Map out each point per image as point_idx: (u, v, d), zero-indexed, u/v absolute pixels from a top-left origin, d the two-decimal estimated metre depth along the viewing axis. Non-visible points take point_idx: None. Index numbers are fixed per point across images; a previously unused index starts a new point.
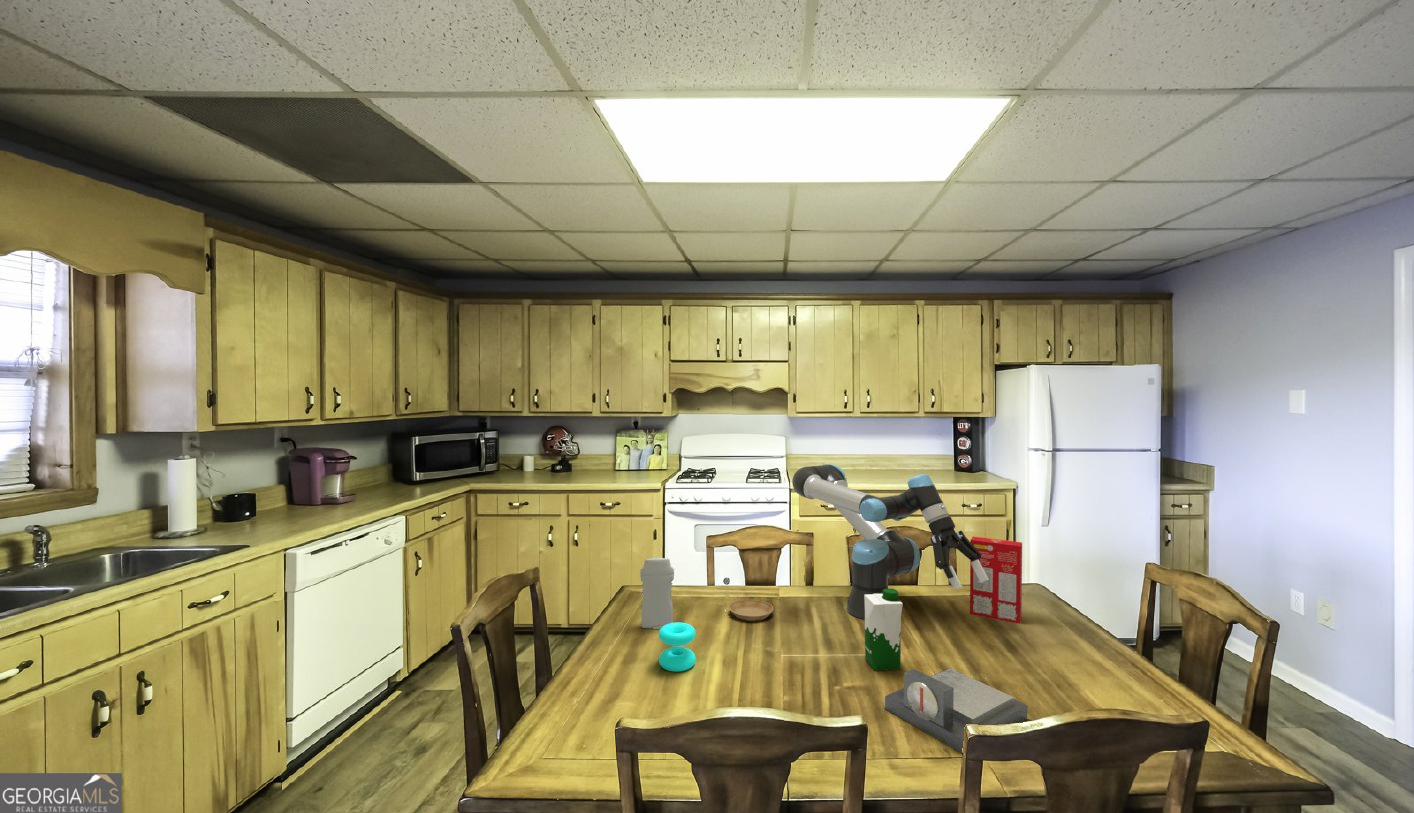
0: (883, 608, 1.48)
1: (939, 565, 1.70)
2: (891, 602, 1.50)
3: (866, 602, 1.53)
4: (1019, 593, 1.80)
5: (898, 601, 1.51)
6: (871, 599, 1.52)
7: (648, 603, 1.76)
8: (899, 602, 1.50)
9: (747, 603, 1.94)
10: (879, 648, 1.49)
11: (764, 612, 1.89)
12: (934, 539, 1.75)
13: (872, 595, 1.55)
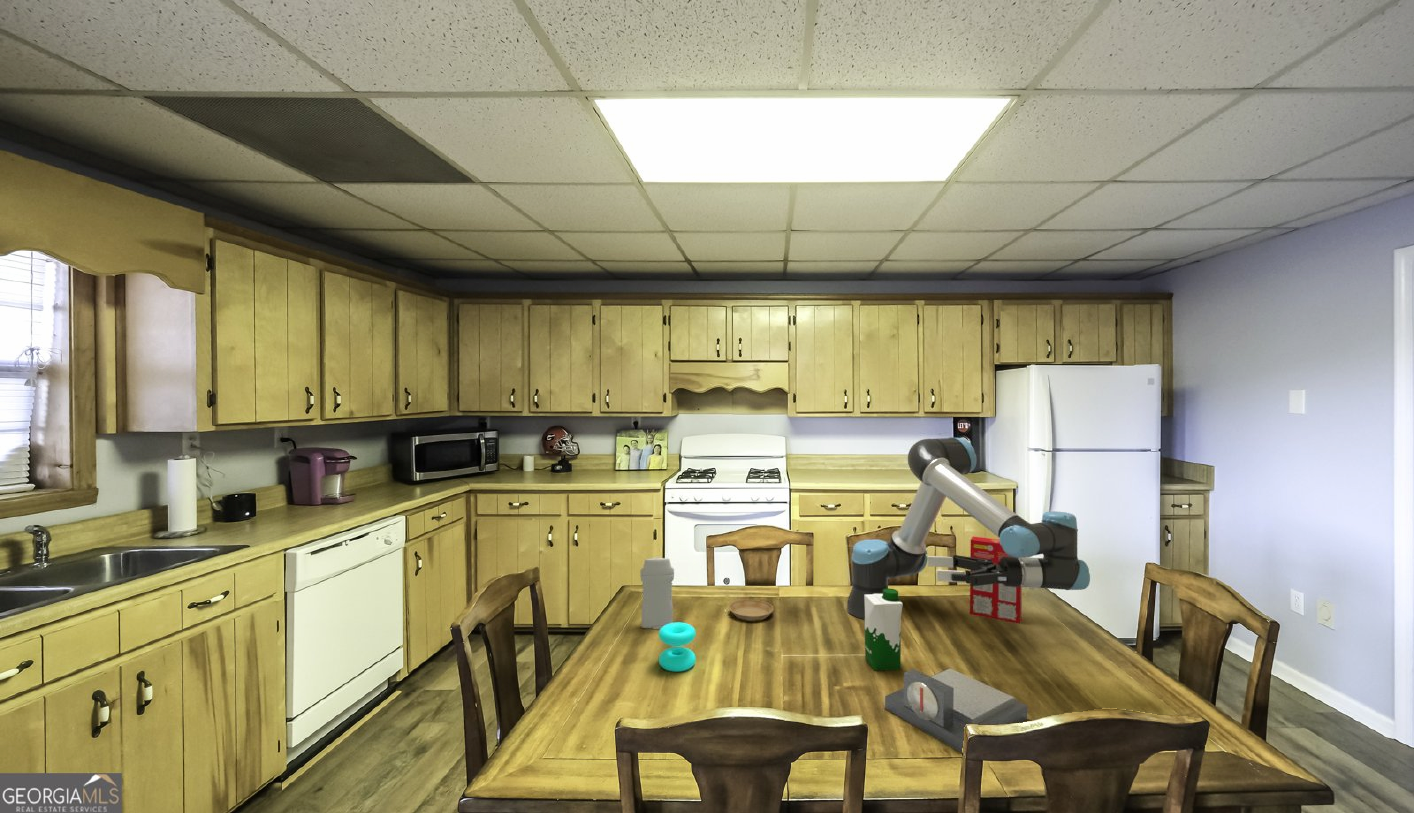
0: (883, 608, 1.48)
1: (971, 580, 1.39)
2: (891, 602, 1.50)
3: (866, 602, 1.53)
4: (1019, 593, 1.80)
5: (898, 601, 1.51)
6: (871, 599, 1.52)
7: (648, 603, 1.76)
8: (899, 602, 1.50)
9: (747, 603, 1.94)
10: (879, 648, 1.49)
11: (764, 612, 1.89)
12: (1002, 579, 1.41)
13: (872, 595, 1.55)
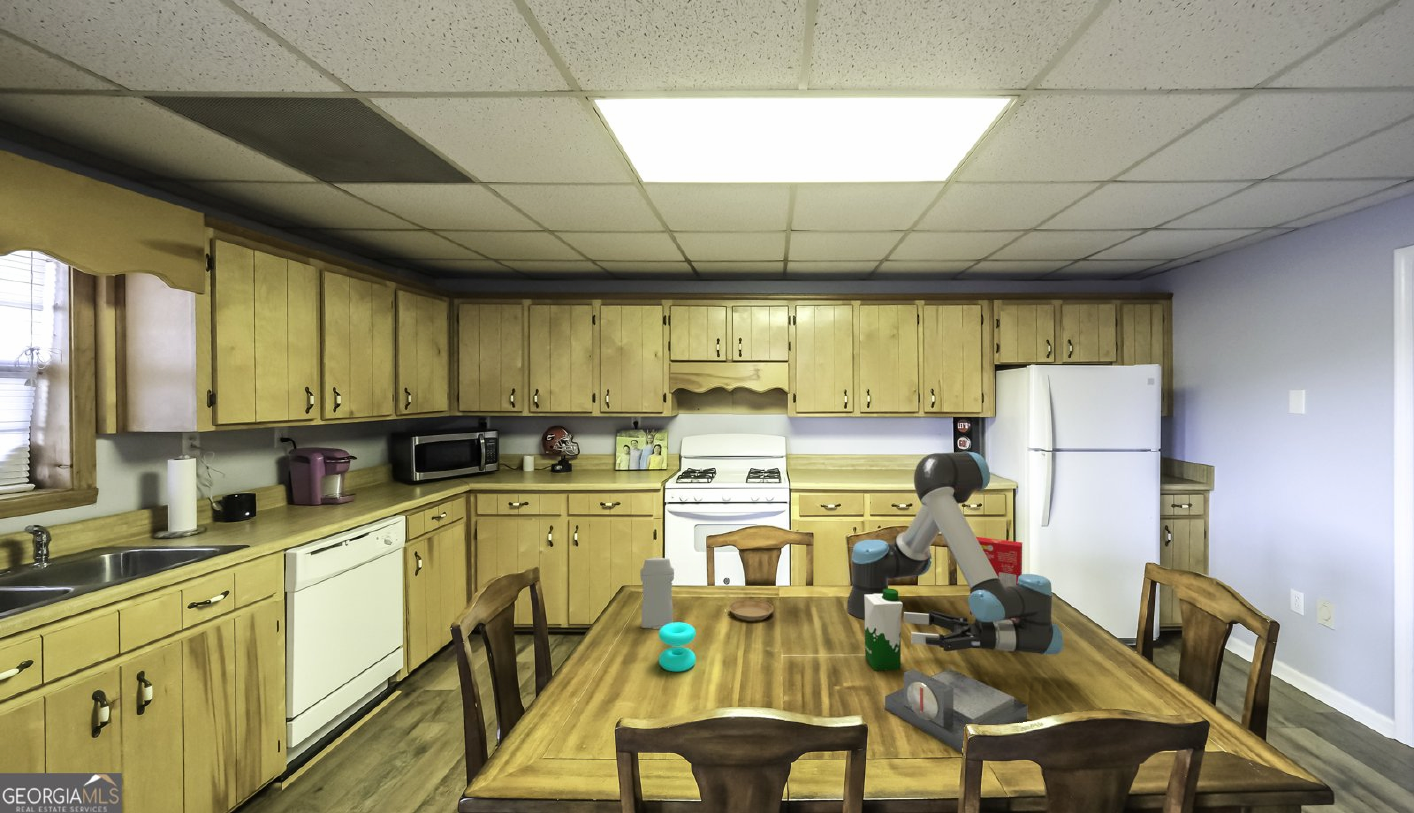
0: (883, 608, 1.48)
1: (945, 646, 1.39)
2: (891, 602, 1.50)
3: (866, 602, 1.53)
4: None
5: (898, 601, 1.51)
6: (871, 599, 1.52)
7: (648, 603, 1.76)
8: (899, 602, 1.50)
9: (747, 603, 1.94)
10: (879, 648, 1.49)
11: (764, 612, 1.89)
12: (976, 644, 1.41)
13: (872, 595, 1.55)
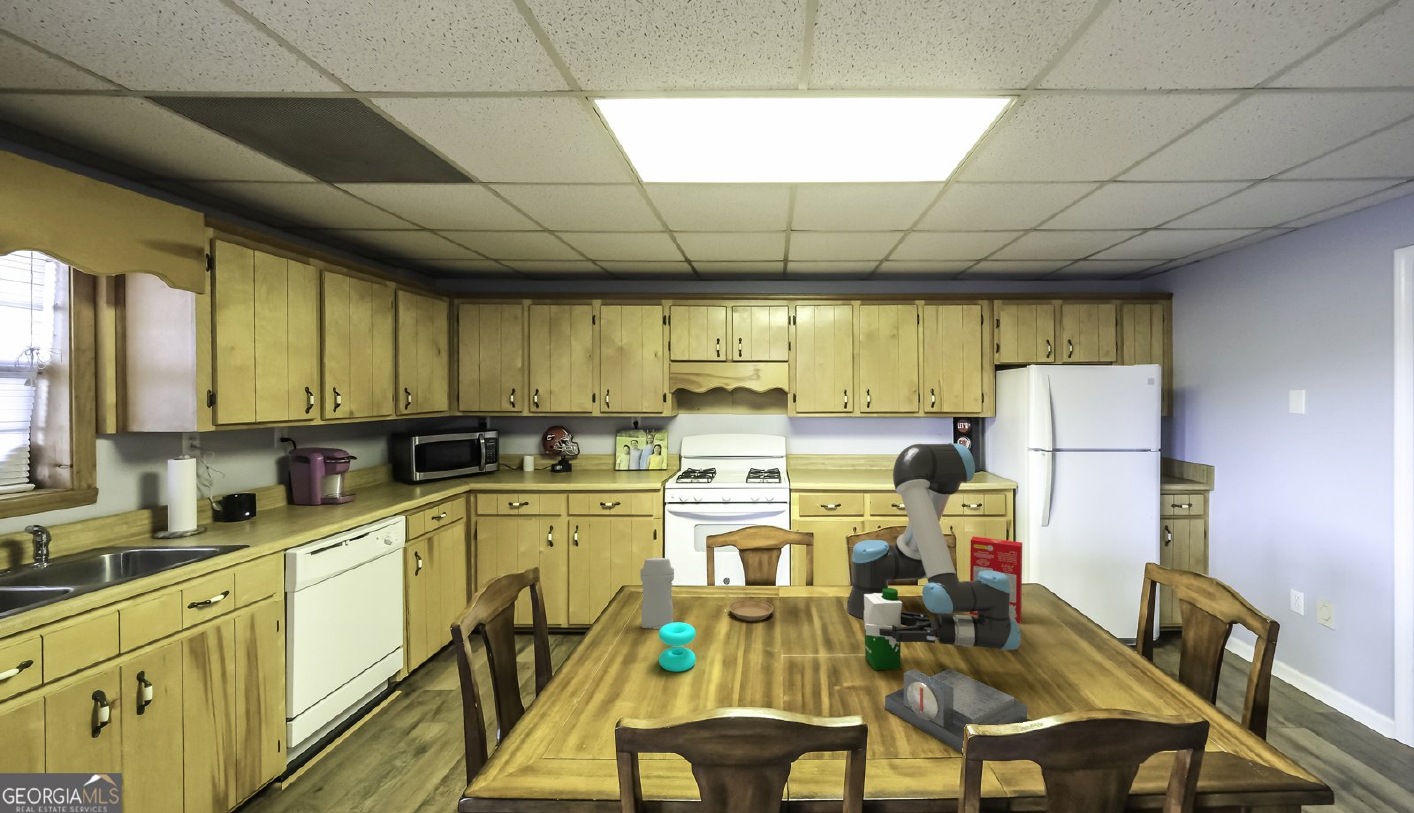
0: (883, 607, 1.49)
1: (897, 637, 1.44)
2: (891, 601, 1.50)
3: (866, 601, 1.54)
4: (1019, 593, 1.80)
5: (898, 600, 1.51)
6: (871, 598, 1.52)
7: (648, 603, 1.76)
8: (899, 601, 1.50)
9: (746, 603, 1.94)
10: (879, 648, 1.49)
11: (764, 612, 1.89)
12: (930, 639, 1.44)
13: (872, 595, 1.55)
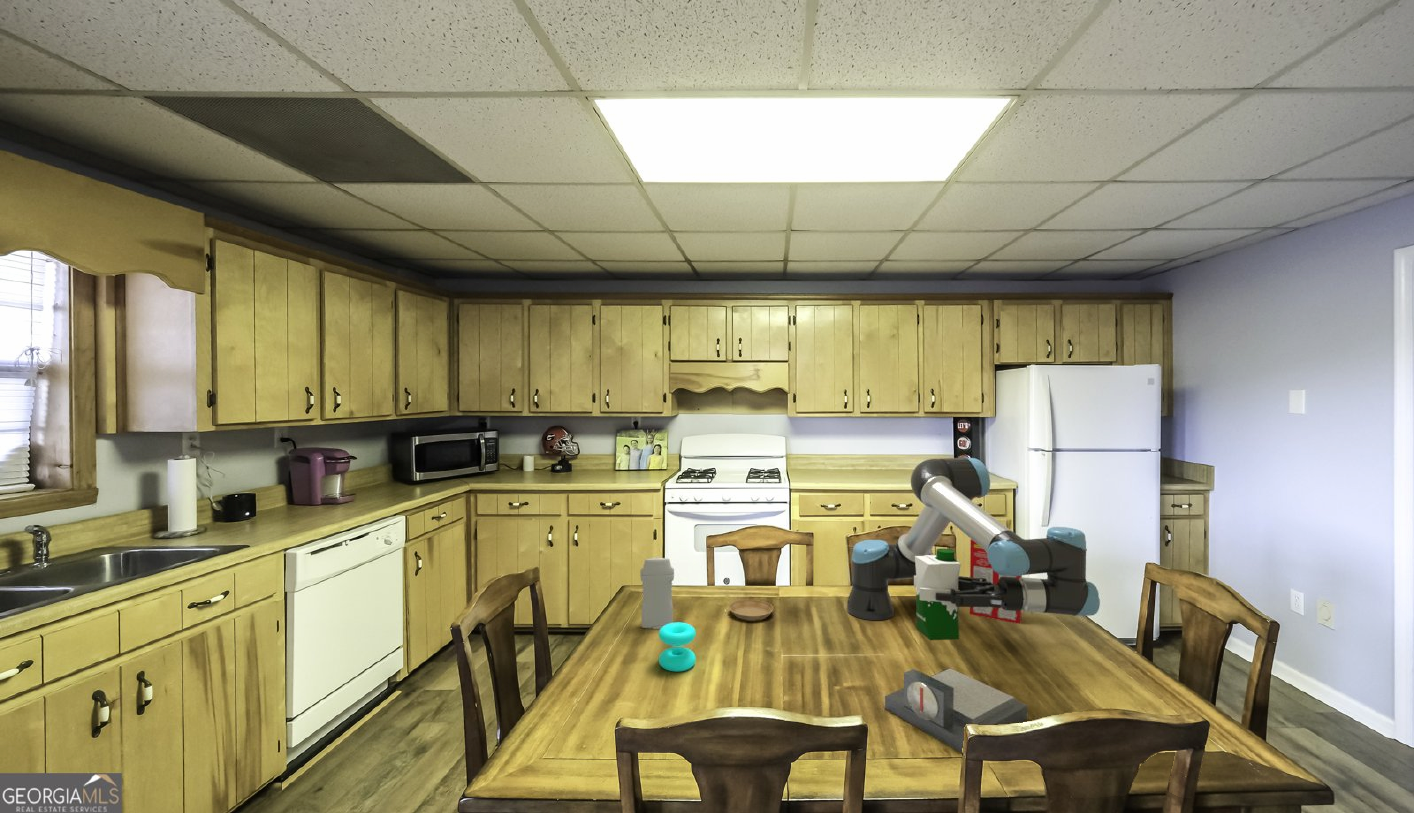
0: (939, 568, 1.31)
1: (957, 601, 1.26)
2: (947, 562, 1.32)
3: (918, 564, 1.36)
4: None
5: (955, 561, 1.33)
6: (924, 560, 1.34)
7: (648, 603, 1.76)
8: (956, 562, 1.32)
9: (746, 603, 1.94)
10: (935, 615, 1.31)
11: (764, 612, 1.89)
12: (996, 603, 1.26)
13: (924, 556, 1.37)
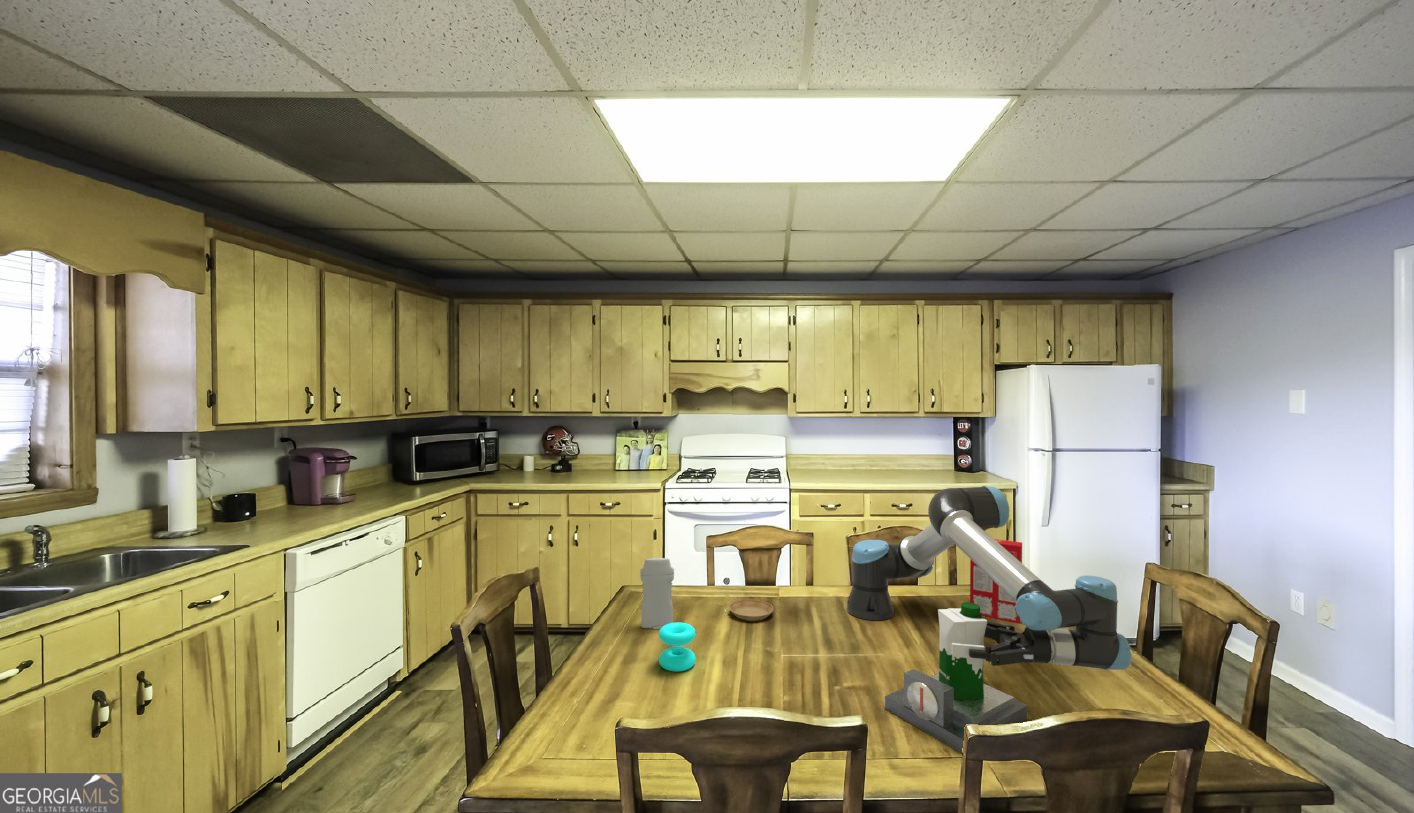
0: (965, 626, 1.26)
1: (993, 659, 1.19)
2: (973, 619, 1.27)
3: (941, 619, 1.31)
4: None
5: (981, 617, 1.28)
6: (948, 615, 1.29)
7: (648, 603, 1.76)
8: (983, 619, 1.27)
9: (746, 603, 1.94)
10: (959, 674, 1.26)
11: (764, 612, 1.89)
12: (1028, 657, 1.20)
13: (948, 610, 1.32)
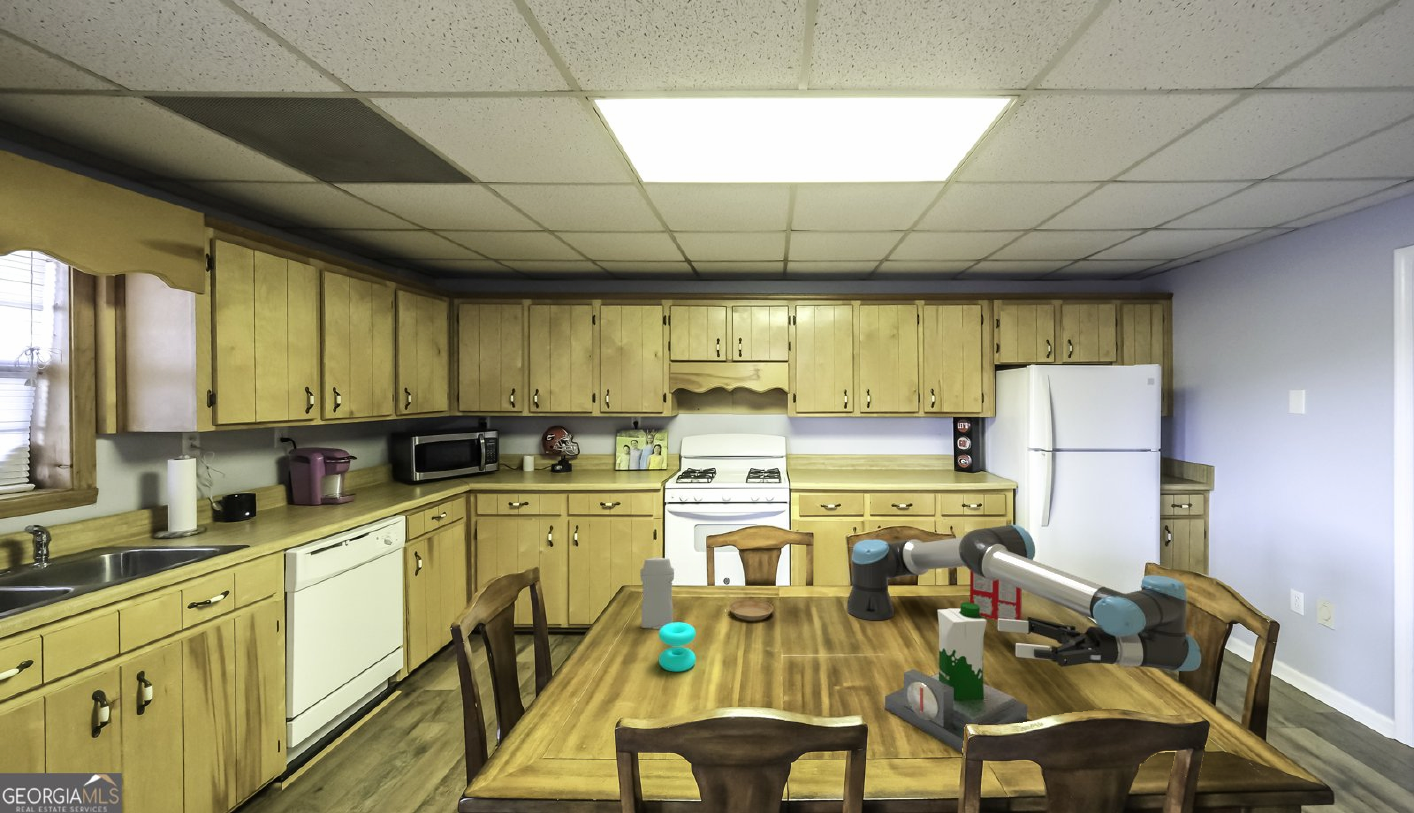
0: (964, 626, 1.26)
1: (1060, 660, 1.17)
2: (973, 619, 1.27)
3: (941, 619, 1.31)
4: (1019, 593, 1.80)
5: (981, 617, 1.28)
6: (948, 615, 1.29)
7: (648, 603, 1.76)
8: (982, 619, 1.27)
9: (745, 603, 1.94)
10: (959, 674, 1.26)
11: (764, 612, 1.89)
12: (1096, 658, 1.19)
13: (947, 610, 1.32)
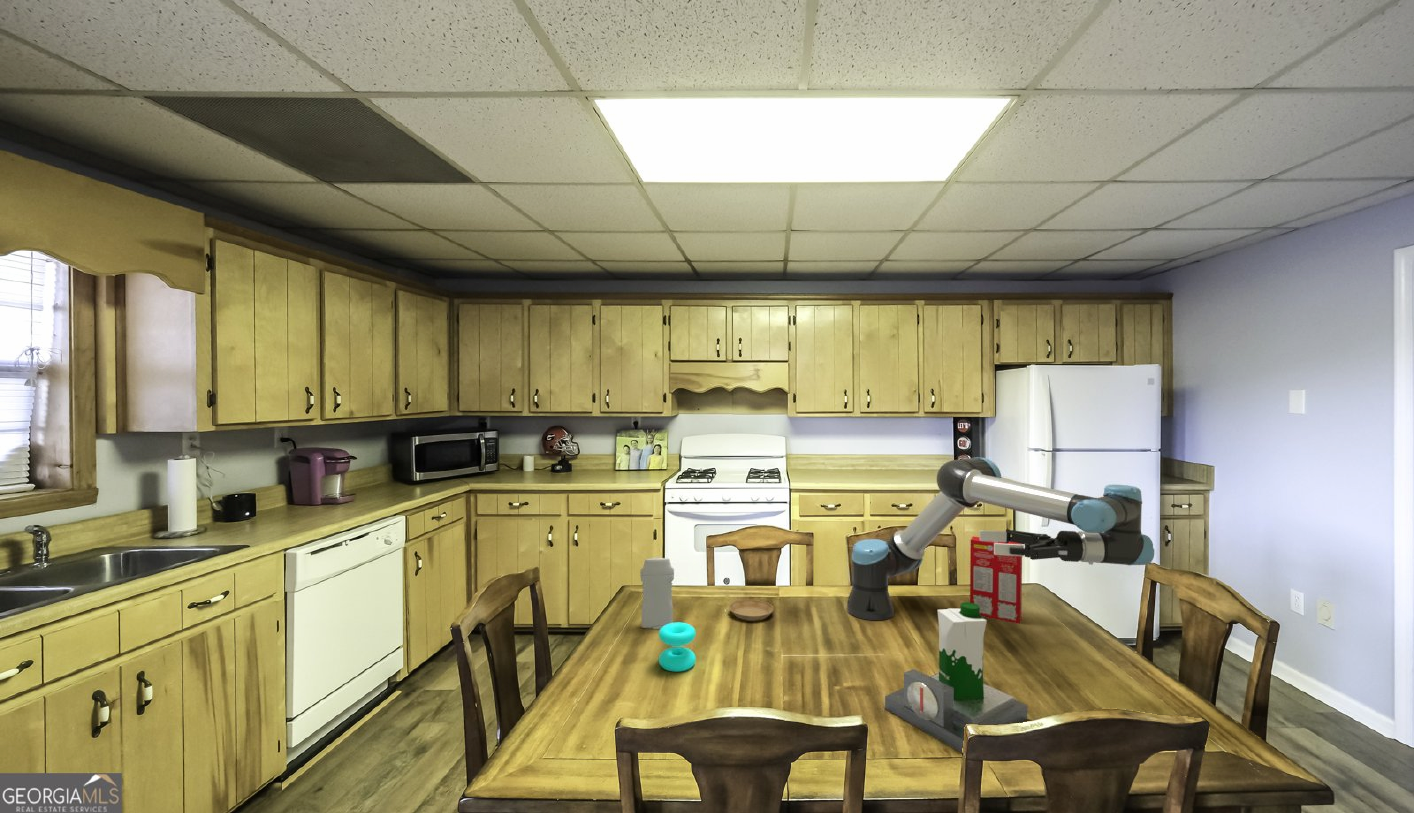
0: (964, 626, 1.26)
1: (1032, 554, 1.34)
2: (973, 619, 1.27)
3: (941, 619, 1.31)
4: (1019, 593, 1.80)
5: (981, 617, 1.28)
6: (948, 615, 1.29)
7: (648, 603, 1.76)
8: (982, 619, 1.27)
9: (745, 603, 1.94)
10: (959, 674, 1.26)
11: (764, 612, 1.89)
12: (1063, 553, 1.36)
13: (947, 610, 1.32)
